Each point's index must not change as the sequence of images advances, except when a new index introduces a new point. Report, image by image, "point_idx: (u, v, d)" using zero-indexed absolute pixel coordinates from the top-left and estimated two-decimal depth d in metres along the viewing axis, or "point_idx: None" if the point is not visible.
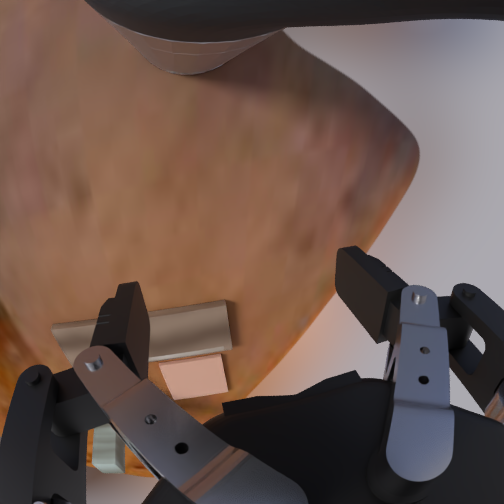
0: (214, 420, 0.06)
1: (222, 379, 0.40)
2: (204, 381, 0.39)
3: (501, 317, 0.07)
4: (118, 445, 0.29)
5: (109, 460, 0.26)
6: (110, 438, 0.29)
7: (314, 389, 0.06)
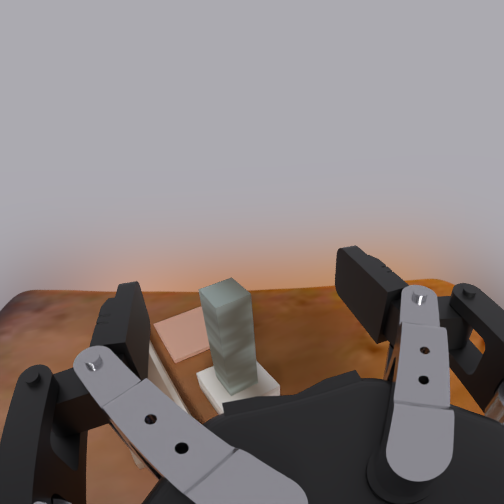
0: (214, 420, 0.06)
1: (186, 313, 0.42)
2: (192, 323, 0.40)
3: (501, 317, 0.07)
4: None
5: (203, 299, 0.24)
6: (208, 328, 0.26)
7: (314, 390, 0.06)
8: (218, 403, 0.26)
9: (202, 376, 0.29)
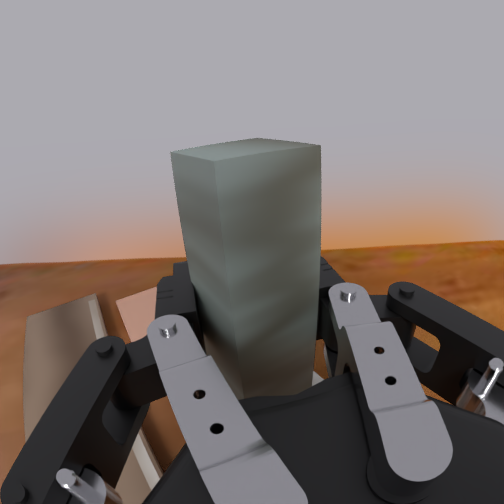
0: None
1: None
2: None
3: (449, 310, 0.08)
4: None
5: (180, 171, 0.08)
6: (195, 269, 0.10)
7: (314, 389, 0.06)
8: None
9: None
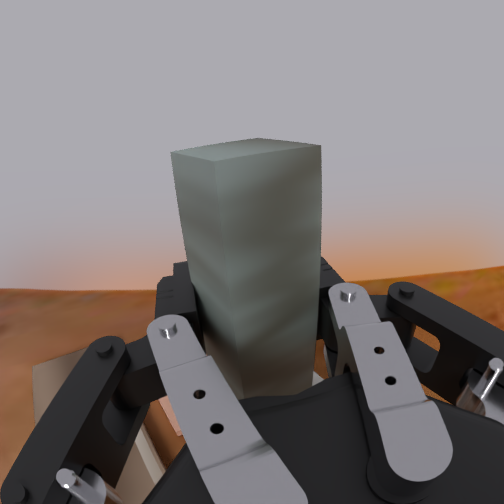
0: None
1: None
2: None
3: (449, 310, 0.08)
4: None
5: (180, 171, 0.08)
6: (195, 269, 0.10)
7: (314, 389, 0.06)
8: None
9: None
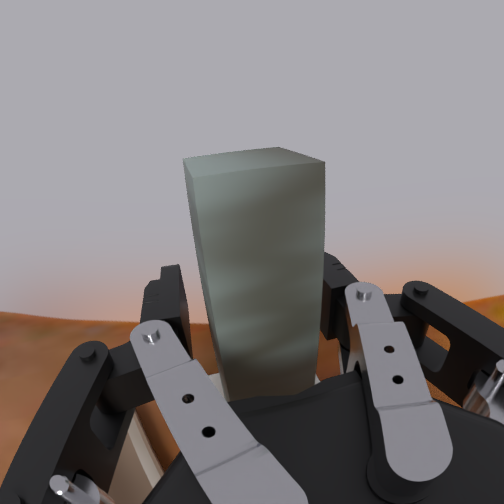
0: None
1: None
2: None
3: (461, 310, 0.08)
4: None
5: (186, 180, 0.08)
6: (201, 275, 0.10)
7: (314, 390, 0.06)
8: None
9: None
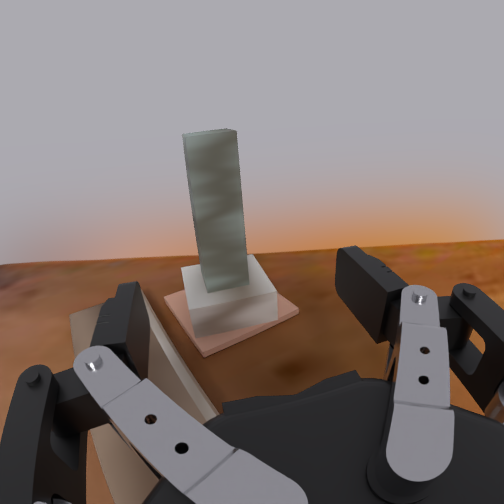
0: (214, 420, 0.06)
1: None
2: None
3: (501, 317, 0.07)
4: None
5: (183, 142, 0.19)
6: (189, 187, 0.20)
7: (314, 390, 0.06)
8: (188, 298, 0.21)
9: (186, 271, 0.24)
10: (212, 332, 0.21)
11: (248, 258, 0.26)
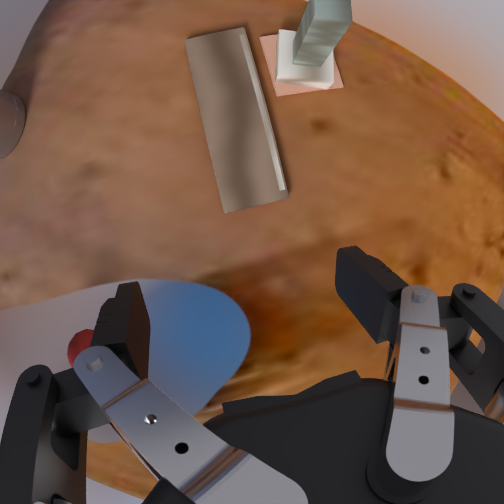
0: (214, 420, 0.06)
1: None
2: None
3: (501, 317, 0.07)
4: None
5: None
6: (305, 15, 0.21)
7: (314, 390, 0.06)
8: (279, 63, 0.28)
9: (282, 34, 0.28)
10: (286, 83, 0.31)
11: None
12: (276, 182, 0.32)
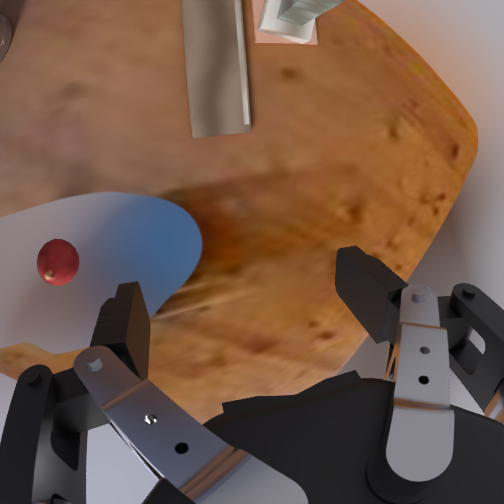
0: (214, 420, 0.06)
1: None
2: None
3: (501, 317, 0.07)
4: None
5: None
6: None
7: (314, 390, 0.06)
8: (265, 16, 0.28)
9: None
10: (266, 33, 0.31)
11: None
12: (242, 116, 0.35)
